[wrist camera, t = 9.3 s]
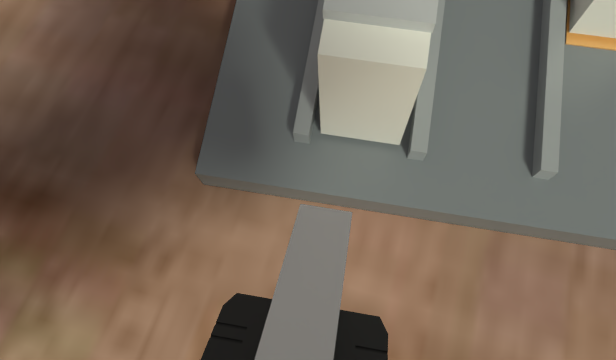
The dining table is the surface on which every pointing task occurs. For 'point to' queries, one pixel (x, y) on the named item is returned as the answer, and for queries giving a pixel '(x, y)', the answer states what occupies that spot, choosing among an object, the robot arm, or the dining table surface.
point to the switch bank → (431, 122)
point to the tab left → (372, 65)
